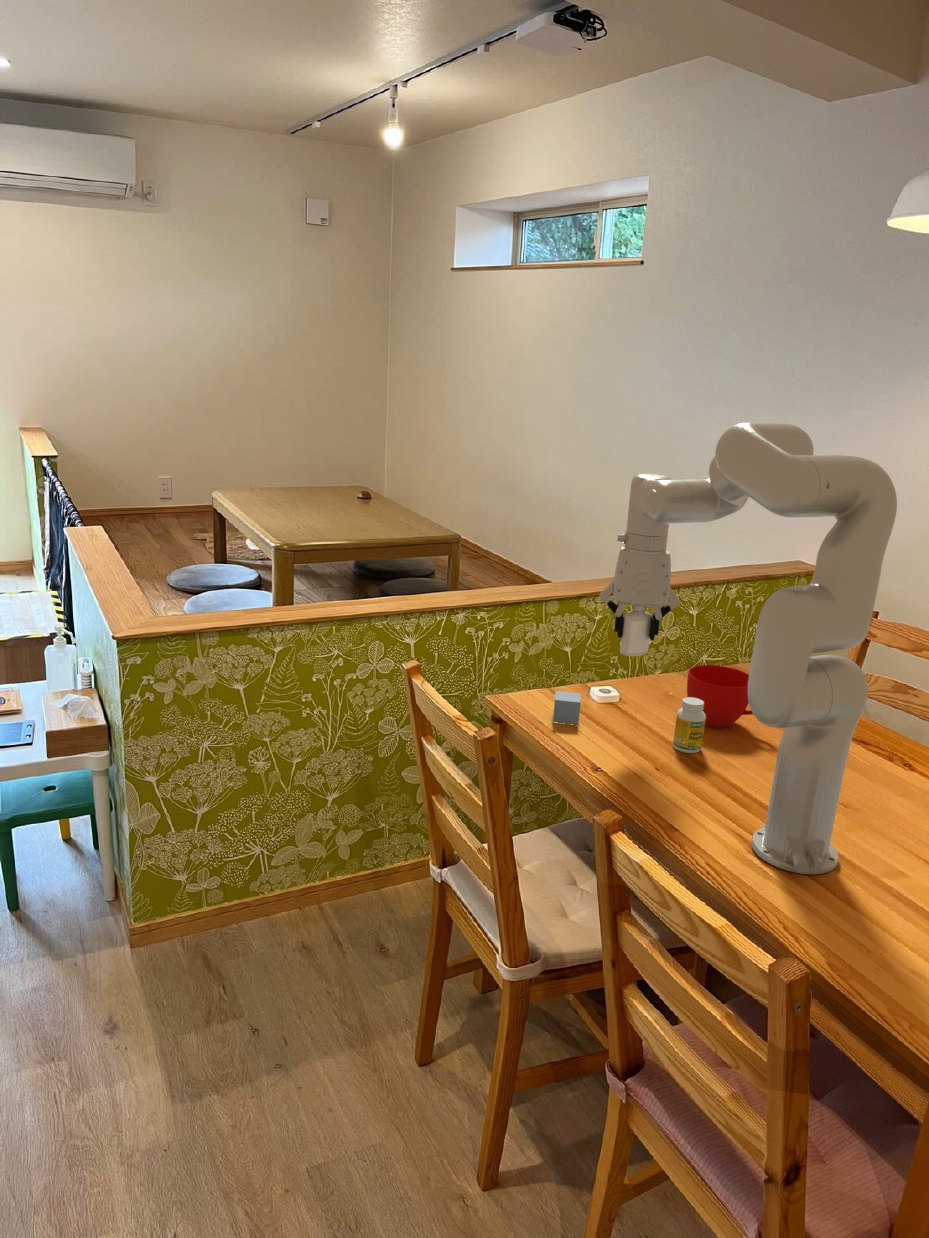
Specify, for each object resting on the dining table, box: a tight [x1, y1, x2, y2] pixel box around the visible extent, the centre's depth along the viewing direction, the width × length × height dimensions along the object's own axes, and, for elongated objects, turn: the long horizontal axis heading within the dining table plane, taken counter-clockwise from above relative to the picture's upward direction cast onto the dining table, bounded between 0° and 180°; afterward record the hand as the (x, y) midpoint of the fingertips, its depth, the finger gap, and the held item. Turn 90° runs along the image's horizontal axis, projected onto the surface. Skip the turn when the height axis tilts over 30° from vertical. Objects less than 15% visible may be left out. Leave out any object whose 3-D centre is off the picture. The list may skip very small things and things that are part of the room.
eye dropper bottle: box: [619, 604, 653, 657], centre depth 178 cm, size 4×6×12 cm
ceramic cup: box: [686, 664, 753, 729], centre depth 191 cm, size 13×17×10 cm
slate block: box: [552, 690, 582, 726], centre depth 189 cm, size 5×5×5 cm
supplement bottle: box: [672, 696, 706, 754], centre depth 179 cm, size 5×5×10 cm
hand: (635, 636), depth 179 cm, fingers closed on eye dropper bottle, 5 cm apart
